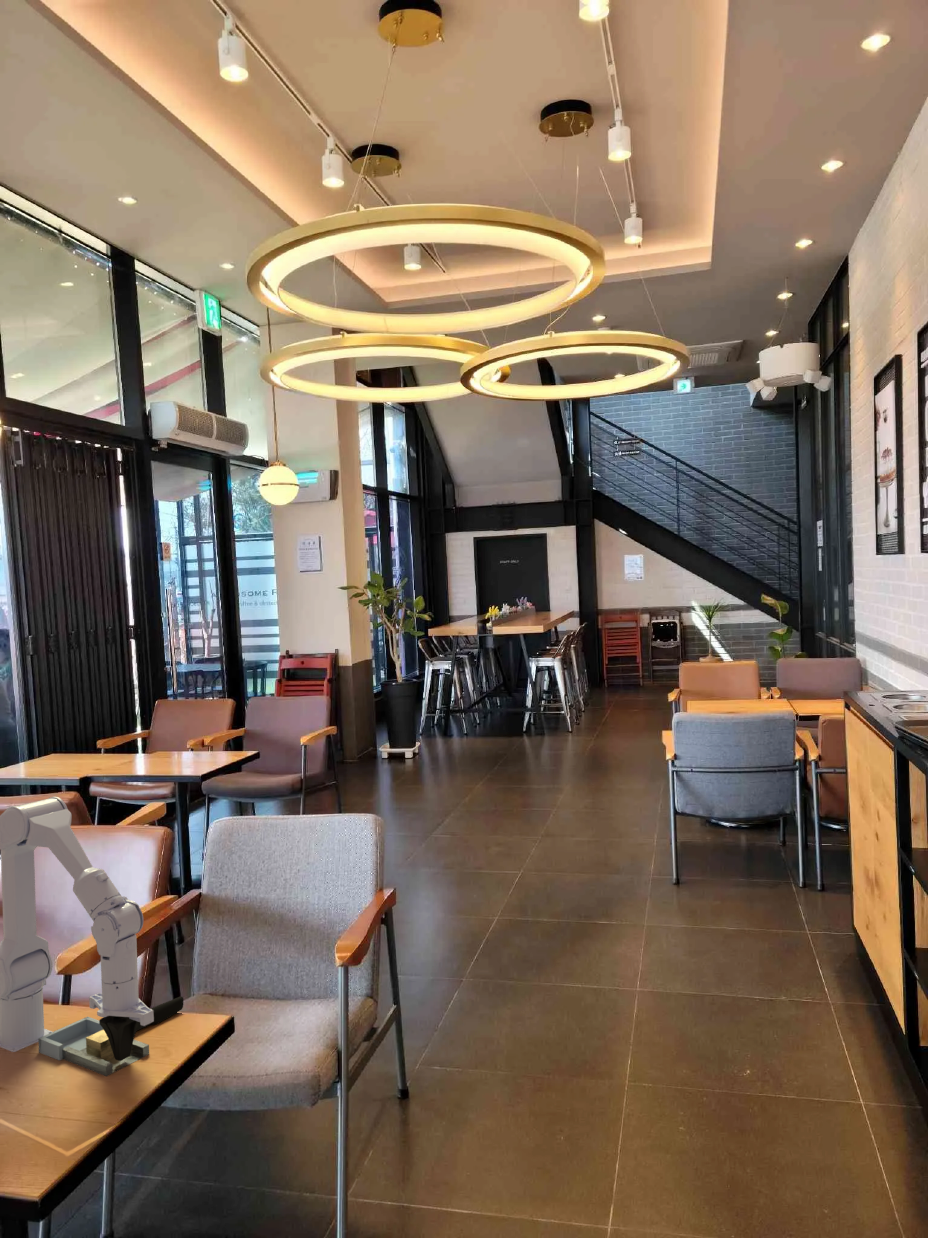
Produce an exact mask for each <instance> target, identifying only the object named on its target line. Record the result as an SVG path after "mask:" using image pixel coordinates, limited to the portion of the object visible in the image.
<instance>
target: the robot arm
mask: <svg viewBox="0 0 928 1238" xmlns="http://www.w3.org/2000/svg"><path fill="white" fill-rule="evenodd" d="M72 816H73V815H72V812H71V811H70V810H69V809H68V806H67V804H66V803H65V801H64V800H63V799H62V798H61V797H58V796H50V797H48V798H47V799H42V800H37V801H33V802H32V801H31V802H30V803H25V804H20V805H15V806H14V805H13V806H9V807H8V808H7V809H5V810H4V811H3V812H2V813H1V814H0V861H1V863H0V865H1V866H0V867H1V899H2V926H3V927H2V928H3V929H2V930H3V939H2V940H1V941H0V1048H2V1049H4V1050H7V1051H9V1052H12V1053H16V1052H18V1051H20V1050H23V1049H25V1048H27V1047H29V1046H32V1045H33V1044H36V1043H39V1042H38V1038H40V1037H43V1036H45V1035H47V1034H49V1033H52V1032H53V1031H52V1030H49V1029H47V1028H45V1017H44V1015H45V1014H44V990H43V989H44V988H43V987H45V986H46V985H47V979H49V977H50V976H51V975H52V972H53V966H54V965H53V964H54V963H53V957H52V956H51V954H50V950H49V941H48V940H47V939H45V938H44V937H41V936H39V935H37V934H38V933H37V910H36V909H37V906H36V905H37V903H36V879H35V878H36V875H35V874H36V873H35V872H36V871H35V868H36V867H35V849H37V848H38V847H40V848H48V849H49V850H50V851H51V853H52V854H53V855H54V856H55V858H56V859H57V860H58V861H59V862H60V864H61V865H62V867H64V869H65V870H66V871H67V872H68V874H69V875H70V876H71V877H72V878H73V885H72V886H73V887H72V891H73V894H74V895H75V896H76V898H77V899H78V900H79V903H80V904H81V905H82V907H83V909H84V910H85V911H86V913H87V915H89V917H90V918H91V920H92V921H93V922H92V923H93V924H92V926H90V930H91V934H92V938H93V939H94V942H95V944H96V951H97V953H98V955H99V956H100V971H101V973H100V975H101V976H100V977H101V979H100V980H101V992H98V993H96V994H92V995H91V996H89V997H88V999H89V1003H88V1005H89V1009H93V1010H94V1009H96V1008H97V1009H98V1010H97V1012H96V1015H97V1017H101V1018H100V1019H99V1024H100V1025H101V1027H102V1028H103V1029H104V1031H105V1033H106V1035H107V1037H108V1039H109V1042H110V1045H111V1048H112V1051H113V1054H114V1057H115V1059H116V1060H118V1061H121V1060H123V1059H125V1058H127V1057H129V1056H130V1054H131V1049H132V1044H133V1040H135V1036H136V1032H137V1031H138V1030H137V1028H138V1026H139V1024H140V1025H142V1026H145V1025H148V1024H150V1023H152V1022H154V1013H153V1010H152V1009H150V1007H148V1006H147V1005H146V1004H145V1003H144V1002H143V1001H142V1000H141V999H140V998H139V977H138V975H139V974H138V973H139V972H138V969H139V968H138V952H137V951H138V950H137V949H138V947H137V946H138V944H137V934H139V933H140V932H141V931H142V929H143V927H144V915H143V912H142V910H141V907H140V906H139V904H138V903H137V902H136V901H135V900H131V899H128V896H122V895H121V893H120V892H119V890H118V888H117V887H116V886H115V884H114V882H113V881H112V880H111V879H110V877H109V875H108V874H107V873H106V872H105V870H104V869H102V868H96V867H94V866H93V865H92V863H91V861H90V859H89V857H88V856H87V854H86V852H85V850H84V849H83V847H82V845H81V843H80V841H79V840H78V838H77V836H76V834H75V833H74V831H73V829H72V827H71V825H72ZM148 1026H149V1025H148Z"/></svg>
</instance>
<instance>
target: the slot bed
mask: <svg viewBox="0 0 928 1238" xmlns="http://www.w3.org/2000/svg"><path fill="white" fill-rule="evenodd" d="M62 1055H63V1059H62V1060H64V1061H66V1062H68V1063H71V1064H74V1065H77V1066H79V1067H82V1068H84V1069H86V1070H88V1071H92V1072H94V1073H96V1074H99V1075H102V1076H104V1077H108V1076H110V1075H113V1074H114V1073H116V1072H119V1071H120V1070H121V1069H124V1068H126V1067H128V1066H129V1065H131V1064H134V1063H136V1062H137V1061H139V1060H141V1059H143V1058H145V1057H147V1056H149V1055H150V1044H147V1043H145V1042H142V1041H139V1040H137V1039H134V1040H133V1044H132V1049H131V1054H130V1056H129V1057H127V1058H125V1059H123V1060H121V1061H118V1060H116V1059H115V1057H114V1058H112V1059H110V1060H108V1061H105V1060H103V1059H100V1058H97V1057H95V1056H92V1055H90V1054H87V1053H86V1048H84V1049H82V1050H80V1051H79V1050H76V1049H74V1048H71V1047H67V1048H64V1049H62Z"/></svg>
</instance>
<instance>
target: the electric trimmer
mask: <svg viewBox="0 0 928 1238" xmlns="http://www.w3.org/2000/svg"><path fill="white" fill-rule="evenodd" d="M183 1008H184V997H183V996H178V997H175V998H174V999H170V1000H168V1001H166V1002H163V1003H161V1004H158V1005H156V1006H153V1007H151V1008H150V1007H149V1009H152V1010H153V1013H154V1022H152V1023H150V1024H148V1025H145V1026H142V1025H140V1024H139V1026H138V1028H137V1031H139V1030H142V1029H144V1028H147V1027H148V1026H151V1025H158V1024H160V1023H161V1022H163V1021H165V1020H167V1019H169V1018H170V1017H172V1016H173V1015H175V1014H177V1013H178V1012H180V1011H181V1010H183Z"/></svg>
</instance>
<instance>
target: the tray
mask: <svg viewBox="0 0 928 1238" xmlns="http://www.w3.org/2000/svg"><path fill="white" fill-rule="evenodd" d="M99 1020H100V1019H99ZM99 1020H98V1019H96V1018H93V1017H90V1016H86V1017H84V1018H82V1019H79V1020H77V1021H74V1022H73V1023H70V1024H68V1025H66V1026H63V1027H61V1028H59V1029H57V1030H54V1031H52V1033H49V1034H47V1035H45V1036H43V1037H40V1038H38V1042H37V1043H38V1053H39V1054H42V1055H44V1056H47V1057H50V1058H52V1059H54V1060H57V1061H62V1060H64V1059H63V1055H62V1049H64V1048H67V1047H71V1048H74V1049H76V1050H79V1051H80V1050H82V1049H84V1048H86V1037H88V1036H91V1035H93V1034H95V1033H97V1032H99V1031H101V1030H103V1028H102V1027H101V1025H100V1024H99Z"/></svg>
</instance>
